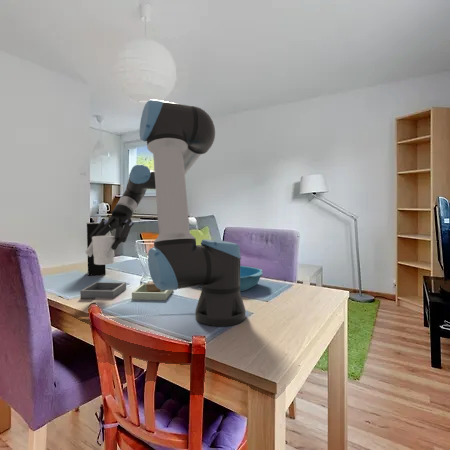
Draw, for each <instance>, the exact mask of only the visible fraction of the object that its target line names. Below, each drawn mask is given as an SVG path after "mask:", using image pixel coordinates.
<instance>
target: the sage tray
mask: <svg viewBox="0 0 450 450" xmlns="http://www.w3.org/2000/svg"><path fill="white" fill-rule="evenodd" d="M146 284H147V283H142V284H140V286H138V287H137V288H136V289H134V290H133V291H131V300H138V301H139V300H142V301H143V300H145V301H146V300H148V301H166V300H167V299H168V298H169V297H170V295H172V293H173V291H174V290H160V292H147V291H146Z"/></svg>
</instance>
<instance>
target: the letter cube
mask: <svg viewBox="0 0 450 450" xmlns="http://www.w3.org/2000/svg"><path fill="white" fill-rule="evenodd" d="M145 284H146V291H147V292H160V289H158V288H157V287H156V286H155V284H154V282H153V280H151V281H150V280H149V281H147V282H146V283H145Z"/></svg>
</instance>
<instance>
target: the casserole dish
mask: <svg viewBox="0 0 450 450" xmlns="http://www.w3.org/2000/svg"><path fill="white" fill-rule="evenodd" d="M263 275H264V273H263V269H262V268H258V267H252V266H247V265H245V266H244V265H240V293H241V292H244V291H246V290H249V289H251V288H253V287H255V286H256V285H257V284H258V283H259V281H260V279H261V277H262V276H263Z"/></svg>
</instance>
